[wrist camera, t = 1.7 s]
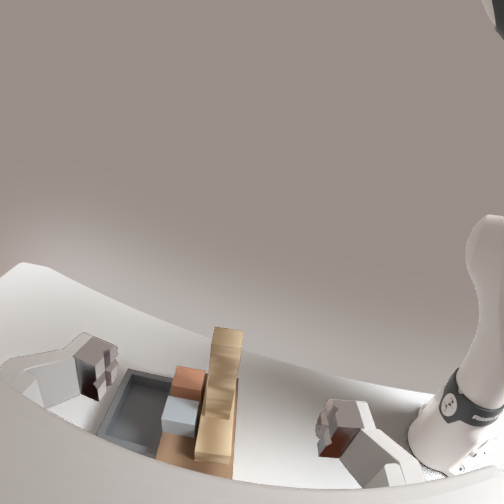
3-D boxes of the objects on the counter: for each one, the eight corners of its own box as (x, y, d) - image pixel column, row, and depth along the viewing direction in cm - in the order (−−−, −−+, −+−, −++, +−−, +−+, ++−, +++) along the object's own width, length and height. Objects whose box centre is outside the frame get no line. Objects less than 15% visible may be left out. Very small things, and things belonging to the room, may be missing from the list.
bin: (179, 393, 44) (179, 379, 43) (160, 466, 30) (158, 455, 29) (130, 382, 44) (128, 368, 43) (101, 449, 30) (95, 437, 28)
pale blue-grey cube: (198, 414, 34) (199, 401, 33) (194, 437, 30) (194, 425, 29) (168, 409, 34) (168, 395, 33) (162, 431, 30) (161, 418, 29)
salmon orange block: (203, 384, 40) (205, 370, 39) (200, 404, 36) (201, 390, 35) (177, 380, 40) (177, 365, 39) (171, 399, 36) (171, 385, 35)
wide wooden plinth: (233, 402, 44) (238, 378, 42) (227, 495, 28) (232, 479, 26) (180, 393, 44) (180, 369, 42) (158, 484, 27) (153, 466, 25)
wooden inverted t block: (234, 386, 41) (248, 305, 36) (228, 465, 27) (246, 388, 23) (207, 383, 40) (216, 300, 35) (194, 460, 27) (197, 382, 22)
